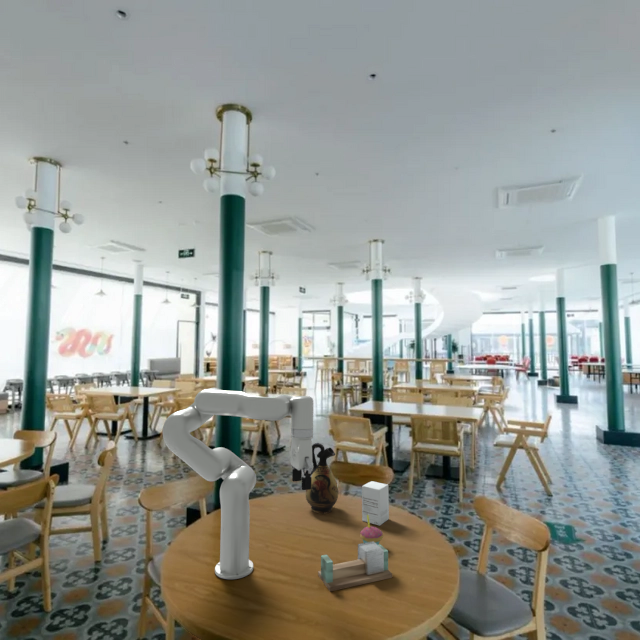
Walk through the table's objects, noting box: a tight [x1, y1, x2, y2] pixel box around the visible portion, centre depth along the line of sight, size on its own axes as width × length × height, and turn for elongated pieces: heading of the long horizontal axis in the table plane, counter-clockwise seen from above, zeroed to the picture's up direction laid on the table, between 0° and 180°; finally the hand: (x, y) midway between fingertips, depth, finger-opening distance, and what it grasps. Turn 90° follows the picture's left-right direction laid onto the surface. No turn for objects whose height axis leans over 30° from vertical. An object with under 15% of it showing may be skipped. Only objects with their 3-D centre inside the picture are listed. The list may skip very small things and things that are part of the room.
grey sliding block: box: [357, 541, 384, 575], centre depth 137 cm, size 7×6×7 cm
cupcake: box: [359, 513, 384, 545], centre depth 155 cm, size 9×8×12 cm
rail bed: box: [317, 543, 393, 592], centre depth 135 cm, size 10×22×7 cm, turn 112°
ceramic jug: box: [305, 442, 339, 515], centre depth 193 cm, size 17×15×30 cm
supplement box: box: [361, 480, 390, 527], centre depth 181 cm, size 9×9×15 cm
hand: (301, 485), depth 138 cm, fingers open, 9 cm apart
